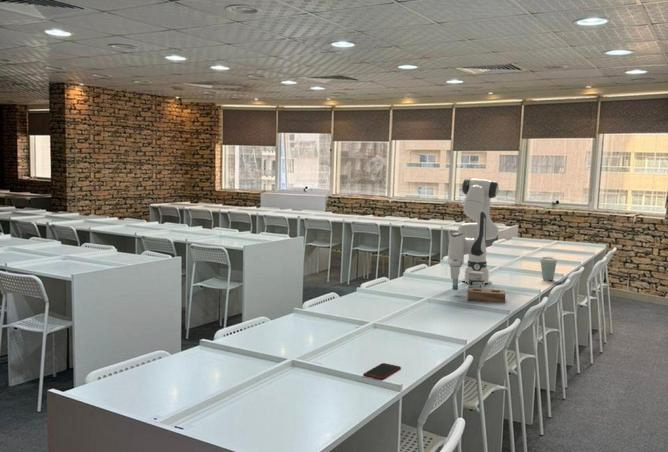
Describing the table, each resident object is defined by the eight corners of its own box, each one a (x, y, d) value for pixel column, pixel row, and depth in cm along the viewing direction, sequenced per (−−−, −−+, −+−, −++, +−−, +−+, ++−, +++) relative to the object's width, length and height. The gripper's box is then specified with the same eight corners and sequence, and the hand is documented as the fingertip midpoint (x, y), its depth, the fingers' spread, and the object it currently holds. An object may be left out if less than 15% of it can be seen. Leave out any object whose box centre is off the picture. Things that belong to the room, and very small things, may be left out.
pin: (452, 288, 333) (453, 275, 332) (457, 289, 332) (458, 275, 331) (452, 289, 330) (452, 276, 329) (457, 290, 329) (457, 276, 328)
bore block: (468, 296, 327) (468, 287, 327) (504, 298, 322) (504, 289, 322) (467, 300, 316) (467, 291, 315) (505, 303, 311) (505, 294, 310)
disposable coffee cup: (559, 281, 378) (560, 258, 377) (546, 282, 374) (547, 259, 373) (548, 278, 388) (549, 256, 387) (535, 279, 384) (536, 257, 383)
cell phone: (362, 376, 196) (362, 374, 196) (382, 365, 208) (382, 362, 208) (382, 381, 192) (382, 378, 192) (401, 369, 204) (401, 366, 204)
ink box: (467, 291, 342) (468, 271, 340) (469, 289, 346) (470, 270, 345) (481, 292, 338) (482, 273, 336) (483, 291, 342) (484, 271, 341)
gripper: (451, 257, 340) (451, 280, 341) (449, 263, 320) (448, 287, 322) (462, 258, 338) (461, 281, 339) (460, 263, 318) (459, 288, 320)
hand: (455, 284), depth 330 cm, fingers closed on pin, 3 cm apart
